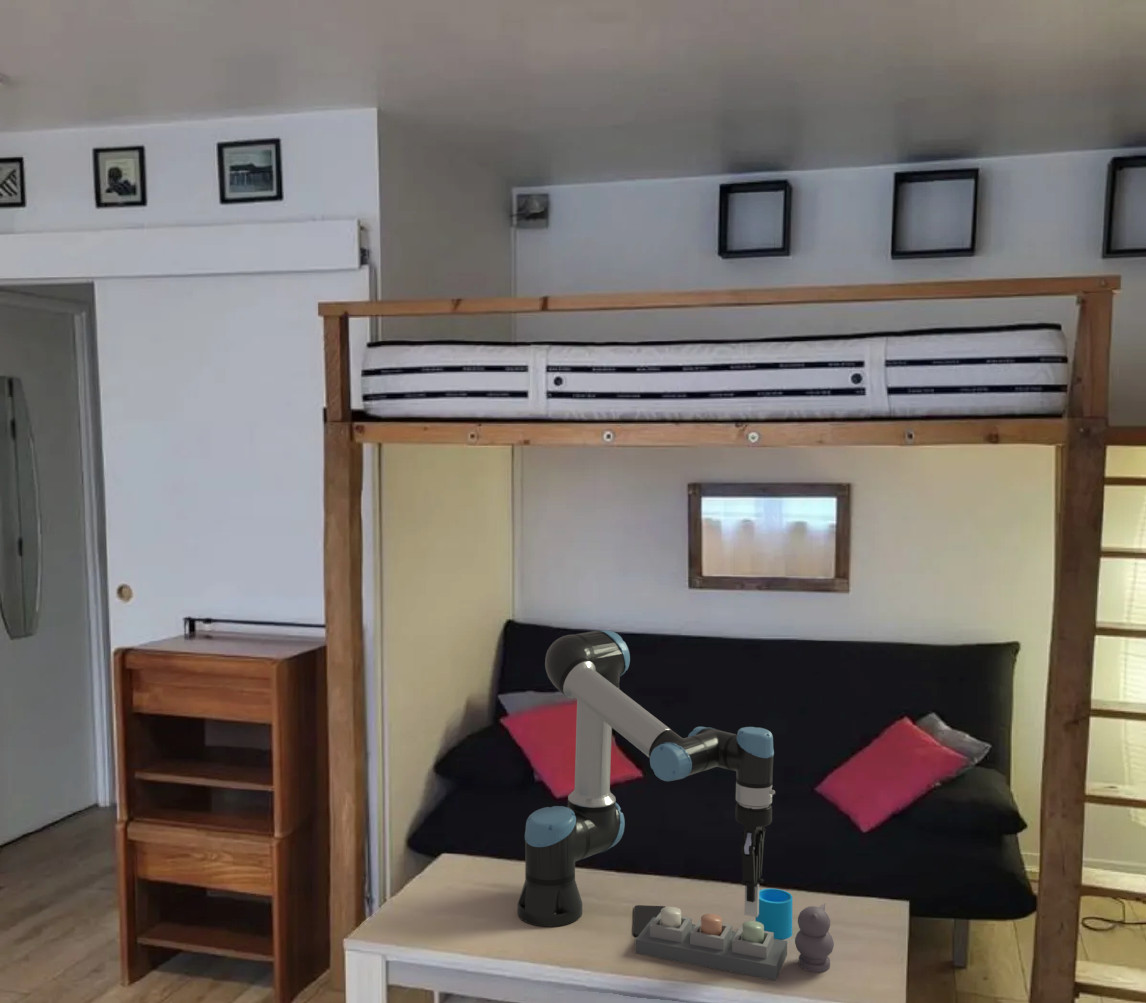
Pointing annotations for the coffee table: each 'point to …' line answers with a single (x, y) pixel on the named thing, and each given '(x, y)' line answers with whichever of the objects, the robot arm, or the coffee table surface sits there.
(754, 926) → the sage button
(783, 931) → the mug
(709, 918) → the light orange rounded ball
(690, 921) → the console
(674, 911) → the ivory button
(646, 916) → the smartphone
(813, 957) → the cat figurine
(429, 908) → the coffee table surface
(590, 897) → the coffee table surface
